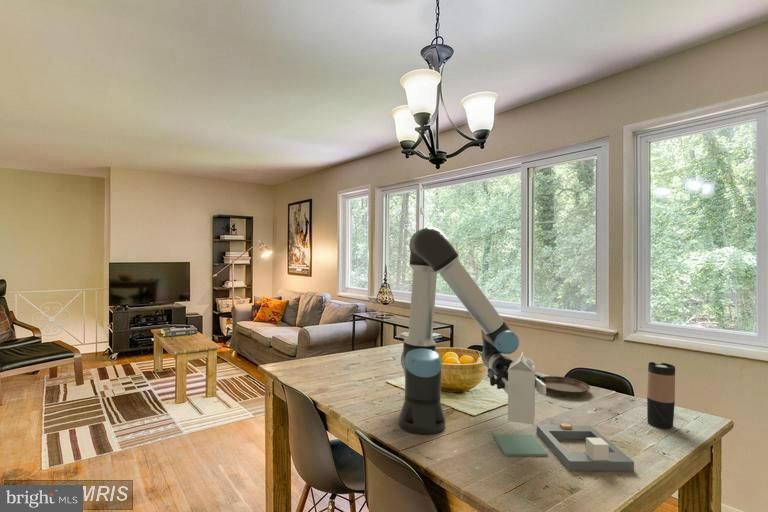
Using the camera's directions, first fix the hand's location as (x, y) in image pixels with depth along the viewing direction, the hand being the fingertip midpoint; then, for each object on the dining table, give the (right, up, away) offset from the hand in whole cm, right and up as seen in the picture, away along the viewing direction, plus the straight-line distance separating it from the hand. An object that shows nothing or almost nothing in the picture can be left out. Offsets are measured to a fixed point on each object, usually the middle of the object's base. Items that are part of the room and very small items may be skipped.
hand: (527, 390), depth 115 cm
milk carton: (0, -10, +5) cm, 11 cm away
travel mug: (+52, -19, +22) cm, 59 cm away
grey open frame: (+16, -18, +3) cm, 25 cm away
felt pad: (-1, -18, +5) cm, 18 cm away
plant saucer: (+33, -18, +54) cm, 66 cm away
